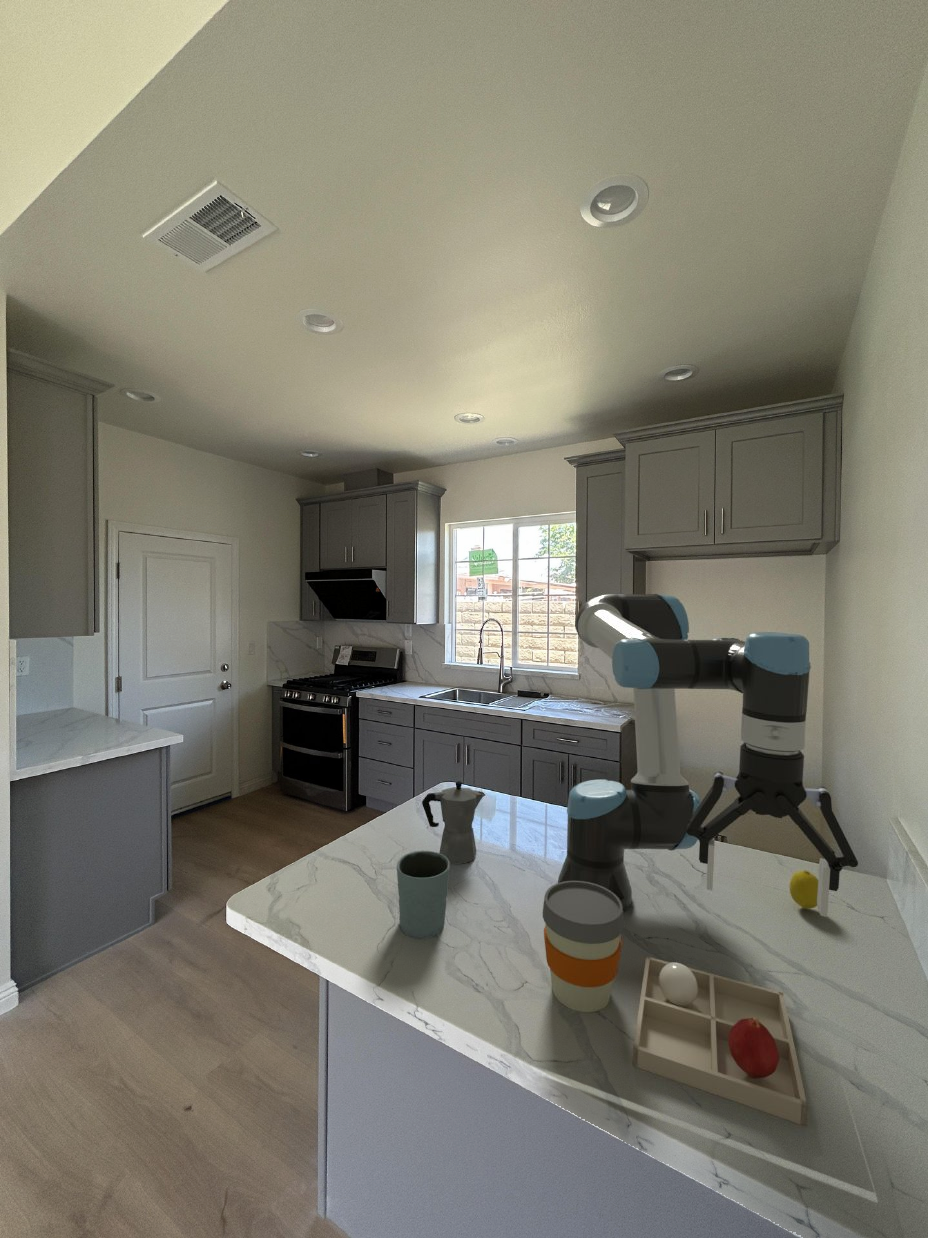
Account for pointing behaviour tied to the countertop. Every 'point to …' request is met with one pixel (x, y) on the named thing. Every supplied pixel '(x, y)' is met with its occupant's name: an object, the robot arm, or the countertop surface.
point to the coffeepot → (456, 821)
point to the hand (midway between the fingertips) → (763, 897)
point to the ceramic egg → (678, 984)
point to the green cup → (422, 892)
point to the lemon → (804, 889)
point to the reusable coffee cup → (582, 942)
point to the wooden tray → (717, 1041)
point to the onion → (753, 1048)
